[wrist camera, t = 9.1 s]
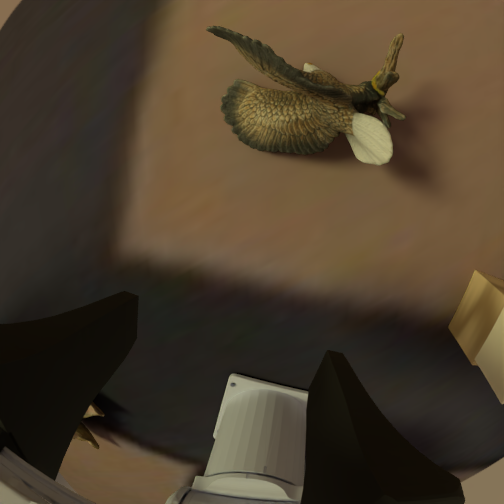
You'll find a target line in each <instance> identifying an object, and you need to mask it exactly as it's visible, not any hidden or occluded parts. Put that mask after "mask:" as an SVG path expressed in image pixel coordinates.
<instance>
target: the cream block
mask: <svg viewBox="0 0 504 504" xmlns="http://www.w3.org/2000/svg"><path fill="white" fill-rule="evenodd" d="M474 360H475V361H476V363H477V364H478V366H479V368H480V369H481V371H482V372H483V374H484V376H485V377H486V379H487V381H488V382H489V384H490V386H491V387H492V389H493V391H494V392H495V394H496V396H497V397H498V399H499V401H500V403H501V404H504V307H503V309H502V311H501V313H500V315H499V317H498V319H497V321H496V323H495V325H494V327H493V328H492V330H491V332H490V334H489V336H488V337H487V339H486V341H485V343H484V344H483V346H482V348H481V349H480V351H479V353H478V354H477V356H476V357H475V359H474Z"/></svg>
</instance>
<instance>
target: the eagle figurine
mask: <svg viewBox="0 0 504 504" xmlns="http://www.w3.org/2000/svg"><path fill="white" fill-rule="evenodd" d="M206 30H207V31H208V32H211V33H213V34H214V35H216V36H218V37H221V38H223V39H226V40H228V41H230V42H231V43H232V44H233V45H234V46H235V48H236V49H237V50H238V51H239V53H240V54H241V55H242V56H243V57H244V58H245V59H246V60H247V61H248V62H249V63H250V64H251V65H252V66H253V67H254V68H255V69H256V70H258V71H259V72H261V73H263V74H264V75H266V76H268V77H269V78H271V79H272V80H274V81H276V82H278V83H279V84H281V85H284V86H285V87H288V88H291V89H292V90H294V91H280V90H273V89H267V88H261V87H259V86H257V85H255V84H253V83H249V82H247V81H244V80H239V79H236V80H235V81H234V85H232V86H230V87H228V88H227V93H228V94H226V95H224V96H222V98H221V101H222V103H223V104H222V105H221V106H220V109H221V111H222V112H223V113H224V114H225V116H224V121H225V122H226V123H227V124H229V125H232V126H233V128H232V132H233V133H235V134H237V135H238V139H239V140H240V141H242V142H243V143H244V144H246V145H249V146H250V147H251V148H253V149H258V150H259V151H264V150H266V151H271V152H277V151H280V152H287V153H293V152H295V153H297V154H303V155H307V154H314V153H316V152H322V151H324V149H326V148H328V144H329V143H331V142H332V141H333V140H334V138H333V137H337V136H339V134H340V132H342V133H344V134H345V135H346V137H347V139H348V141H349V143H350V145H351V147H352V150H353V152H354V154H355V157H356V158H357V159H358V160H360V161H362V162H363V163H369V164H375V165H378V166H379V165H382V164H385V163H388V162H389V161H390V158H391V157H392V155H393V143H392V140H391V135H390V133H389V131H388V130H387V128H390V127H391V123H390V120H389V119H388V115H391V116H393V117H394V118H396V119H399V120H405V119H406V116H405V115H404V114H402V113H400V112H398V111H397V110H395V109H394V108H393V107H392V106H391V105H390V103H389V101H388V99H387V98H385V95H386V93H387V91H388V89H389V88H390V87H391V86H392V85H393V84H394V83H396V82H397V81H398V79H399V74H398V73H396V72H395V68H396V64H397V58H398V54H399V50H400V48H401V46H402V43H403V39H404V35H403V34H401V33H400V34H398V35H397V36H395V38H394V39H393V40H392V41H391V43H390V46H389V52H388V55H387V57H386V59H385V64H384V66H383V68H382V69H381V70H380V71H378V73H377V74H376V75H375V76H374V77H373V79H372V81H368V82H363V83H361V84H360V85H357V86H356V85H348V84H343V83H340V82H338V81H337V79H336V78H335V77H333V76H332V75H331V74H329V73H327V72H325V71H323V70H321V69H319V68H317V67H316V66H314V65H312V64H311V63H306V64H305V65H304V70H303V71H302V70H299V69H296V68H294V67H292V66H291V65H289V64H287V63H286V62H285V60H284V59H283V58H282V57H279V56H277V55H276V54H275V53H274V51H273V50H272V49H271V48H270V47H269V46H268V45H266V44H262V43H261V42H260V41H259V40H255V39H254V40H252V39H250V38H249V37H248V36H243V35H242V34H239V33H237V32H234V31H231V30H228V29H226V28H223V27H220V26H218V27H217V26H212V27H207V29H206ZM367 111H368V112H370V113H371V114H372V115H374V114H375V113H376V112H377V113H378V115H379V116H380V117H381V119H382V121H383V123H384V124H383V123H382V122H381V121H380V120H378V119H377V118H375V117H372V116H369V115H365V114H363V113H364V112H367Z"/></svg>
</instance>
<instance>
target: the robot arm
mask: <svg viewBox="0 0 504 504" xmlns="http://www.w3.org/2000/svg"><path fill="white" fill-rule="evenodd" d="M138 298H139V296H137V295H134V294H132V293H129V292H126V291H124V292H120V293H117V294H115V295H112V296H109V297H107V298H104V299H102V300H99V301H96V302H94V303H91V304H89V305H86V306H83V307H80V308H77V309H74V310H71V311H68V312H65V313H62V314H59V315H56V316H52V317H48V318H43V319H39V320H34V321H28V322H20V323H13V324H0V504H50V503H52V504H96V503H94V502H92V501H90V500H88V499H86V498H84V497H82V496H80V495H78V494H77V493H74V492H73V491H71V490H69V489H68V488H66V487H64V486H62V485H61V484H59V483H57V482H56V481H55V479H56V476H57V474H58V471H59V468H60V466H61V463H62V461H63V458H64V456H65V454H66V451H67V449H68V447H69V445H70V442H71V440H72V438H73V436H74V434H75V432H76V430H77V428H78V426H79V424H80V422H81V421H82V419H83V417H84V415H85V413H86V412H87V410H88V408H89V406H90V405H91V403H92V401H93V400H94V399H95V397H96V396H97V394H98V393H99V392H100V390H101V389H102V388H103V386H104V385H105V384H106V383H107V381H108V380H109V379H110V377H111V376H112V375H113V374H114V372H115V371H116V370H117V368H118V367H119V366H120V364H121V363H122V362H123V361H124V359H125V358H126V356H127V355H128V353H129V351H130V349H131V348H132V346H133V344H134V342H135V340H136V339H137V318H138ZM233 383H236V384H233ZM213 437H214V438H215V439H216V440H215V443H214V446H213V449H212V452H211V456H210V459H209V462H208V465H207V468H206V471H205V474H204V477H202V476H196V477H195V480H194V483H193V486H192V487H187V486H184V487H181V488H180V489H178V490H177V491H176V492H174V493H173V494H172V495H171V496H170V497H169V498H168V500H167V501H166V503H165V504H464V502H465V498H464V495H463V490H462V486H461V483H460V479H459V478H457V477H455V476H454V475H452V474H450V473H449V472H447V471H445V470H444V469H442V468H440V467H439V466H437V465H436V464H435V463H433V462H432V461H431V460H429V459H428V458H427V457H425V456H424V455H423V454H421V453H420V452H419V451H418V450H417V449H415V448H414V447H413V446H412V445H411V444H410V443H409V442H408V441H407V440H406V439H405V438H404V437H403V436H402V435H401V434H400V433H399V432H398V431H397V430H396V429H395V428H394V427H393V426H392V425H391V423H390V422H389V421H388V420H387V419H386V418H385V416H384V415H383V414H382V413H381V411H380V410H379V409H378V407H377V406H376V405H375V403H374V402H373V400H372V399H371V398H370V396H369V395H368V393H367V392H366V390H365V389H364V387H363V385H362V384H361V382H360V381H359V379H358V377H357V376H356V374H355V372H354V371H353V369H352V367H351V366H350V364H349V362H348V361H347V359H346V358H345V356H344V354H343V353H339V352H334V351H330V350H327V352H326V354H325V356H324V358H323V360H322V362H321V364H320V367H319V369H318V371H317V373H316V375H315V377H314V379H313V381H312V383H311V385H310V387H309V391H304V390H299V389H295V388H290V387H286V386H282V385H278V384H273V383H269V382H265V381H262V380H258V379H254V378H250V377H246V376H243V375H239V374H231V375H230V376H229V380H228V383H227V387H226V391H225V394H224V398H223V402H222V405H221V409H220V412H219V416H218V420H217V423H216V427H215V431H214V434H213ZM305 443H306V471H305V478H304V463H305ZM303 480H304V485H303ZM43 498H44V499H43ZM46 500H47V501H48V502H50V503H48V502H47V501H46Z"/></svg>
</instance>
